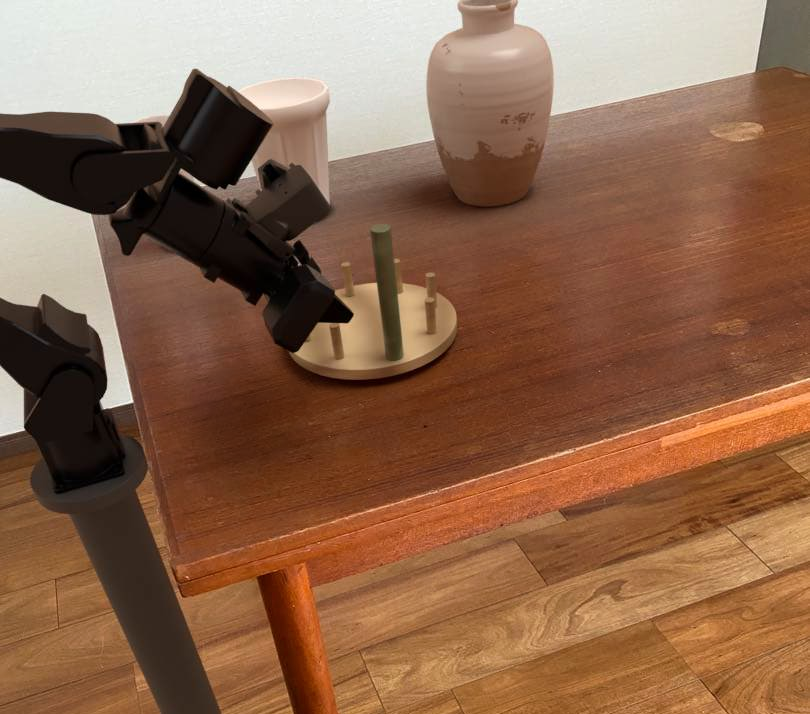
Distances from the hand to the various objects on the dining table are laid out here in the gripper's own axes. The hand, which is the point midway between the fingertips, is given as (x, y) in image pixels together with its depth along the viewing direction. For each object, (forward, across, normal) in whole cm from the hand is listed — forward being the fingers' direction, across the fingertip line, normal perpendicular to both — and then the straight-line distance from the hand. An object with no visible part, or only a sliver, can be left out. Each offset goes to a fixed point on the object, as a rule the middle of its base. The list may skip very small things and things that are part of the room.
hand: (350, 317), depth 82 cm
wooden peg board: (+8, +8, +2) cm, 11 cm away
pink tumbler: (-2, +44, +12) cm, 45 cm away
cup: (+10, +44, +1) cm, 46 cm away
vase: (+27, +36, -16) cm, 48 cm away
